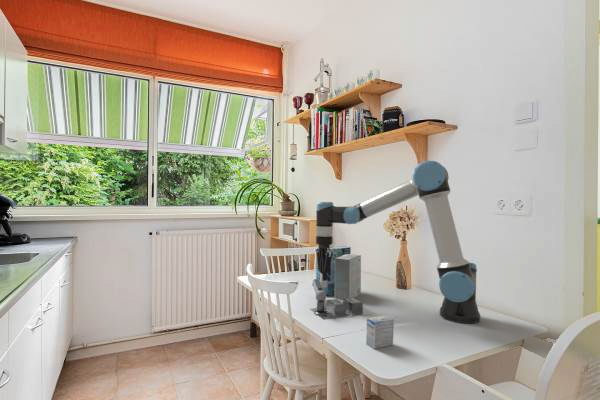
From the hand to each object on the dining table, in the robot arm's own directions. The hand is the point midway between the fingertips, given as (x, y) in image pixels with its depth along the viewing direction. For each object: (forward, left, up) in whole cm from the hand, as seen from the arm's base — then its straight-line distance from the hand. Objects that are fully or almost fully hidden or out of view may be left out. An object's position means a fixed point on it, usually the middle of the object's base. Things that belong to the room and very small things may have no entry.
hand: (323, 287), depth 161 cm
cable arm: (-5, +5, -1) cm, 7 cm away
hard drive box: (+5, -16, -8) cm, 18 cm away
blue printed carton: (+15, -13, -8) cm, 21 cm away
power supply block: (-15, +1, -7) cm, 16 cm away
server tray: (-15, -2, -7) cm, 17 cm away
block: (-15, -7, -7) cm, 18 cm away
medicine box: (-48, +2, -8) cm, 48 cm away
